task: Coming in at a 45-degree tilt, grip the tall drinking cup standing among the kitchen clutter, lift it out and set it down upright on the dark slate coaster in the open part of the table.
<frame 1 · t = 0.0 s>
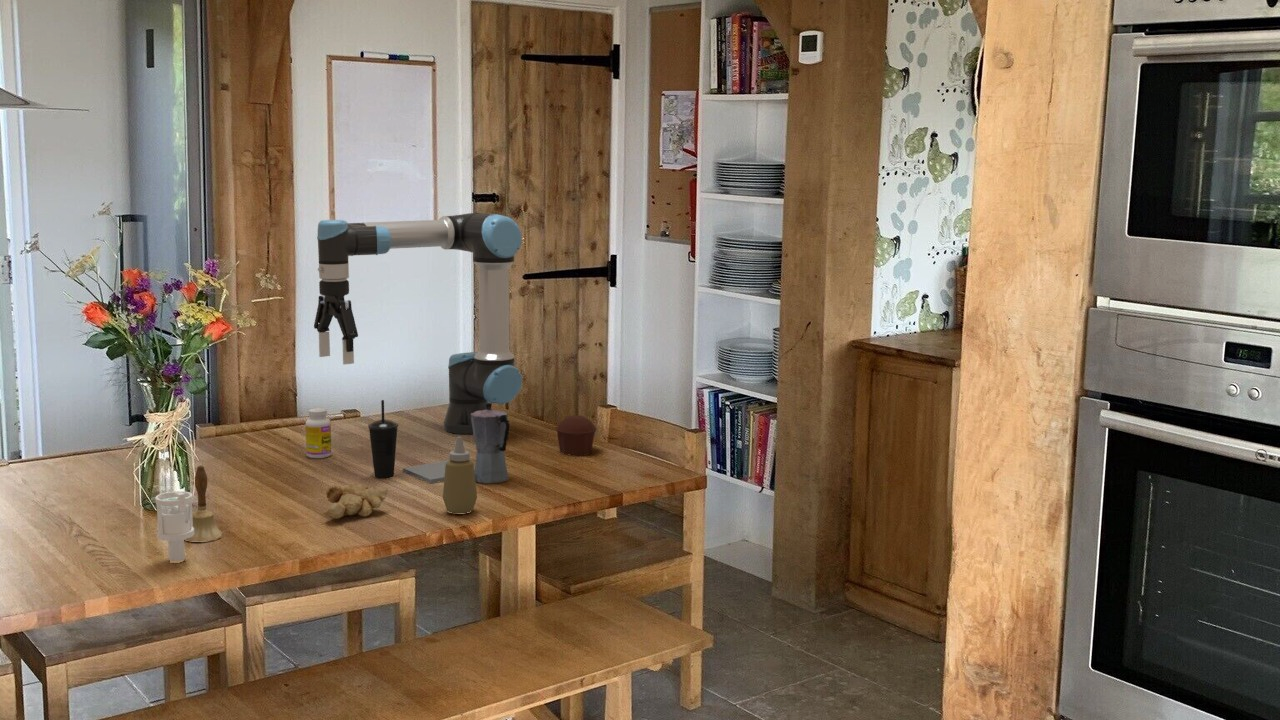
hand: (336, 360, 329), 28 cm above the table, tool pointing down, fingers open, 13 cm apart
moka pot: (492, 481, 320), on the table
supplement bottle: (319, 456, 342), on the table
slate coaster: (440, 473, 326), on the table
squeeze bottle: (460, 512, 293), on the table
hand bell: (203, 538, 272), on the table
ginger root: (352, 513, 292), on the table
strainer: (177, 562, 257), on the table
drinking cup: (384, 477, 322), on the table
muffin: (575, 452, 351), on the table
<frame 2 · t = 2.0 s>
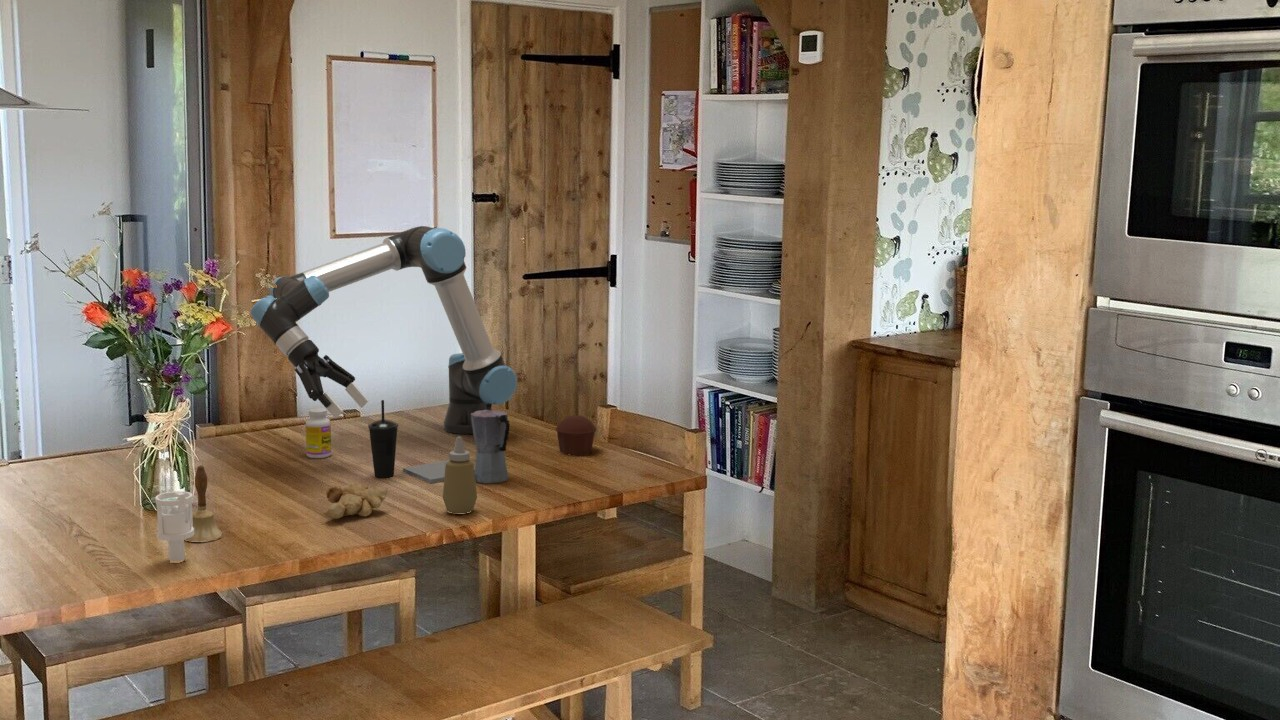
hand: (352, 409, 321), 17 cm above the table, tool tilted 45°, fingers open, 13 cm apart
nothing on the table moved.
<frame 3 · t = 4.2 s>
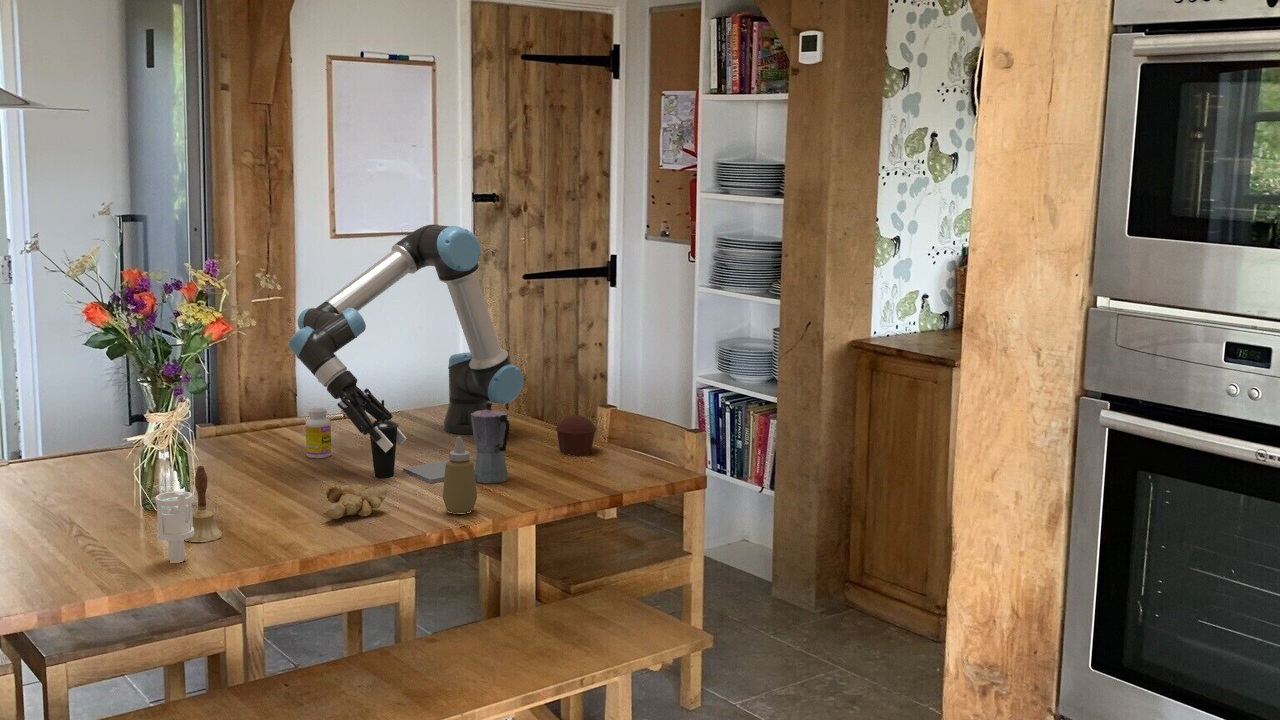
hand: (396, 445, 320), 9 cm above the table, tool tilted 45°, fingers closed on drinking cup, 7 cm apart
drinking cup: (384, 477, 322), on the table, touching gripper
everything else where it was.
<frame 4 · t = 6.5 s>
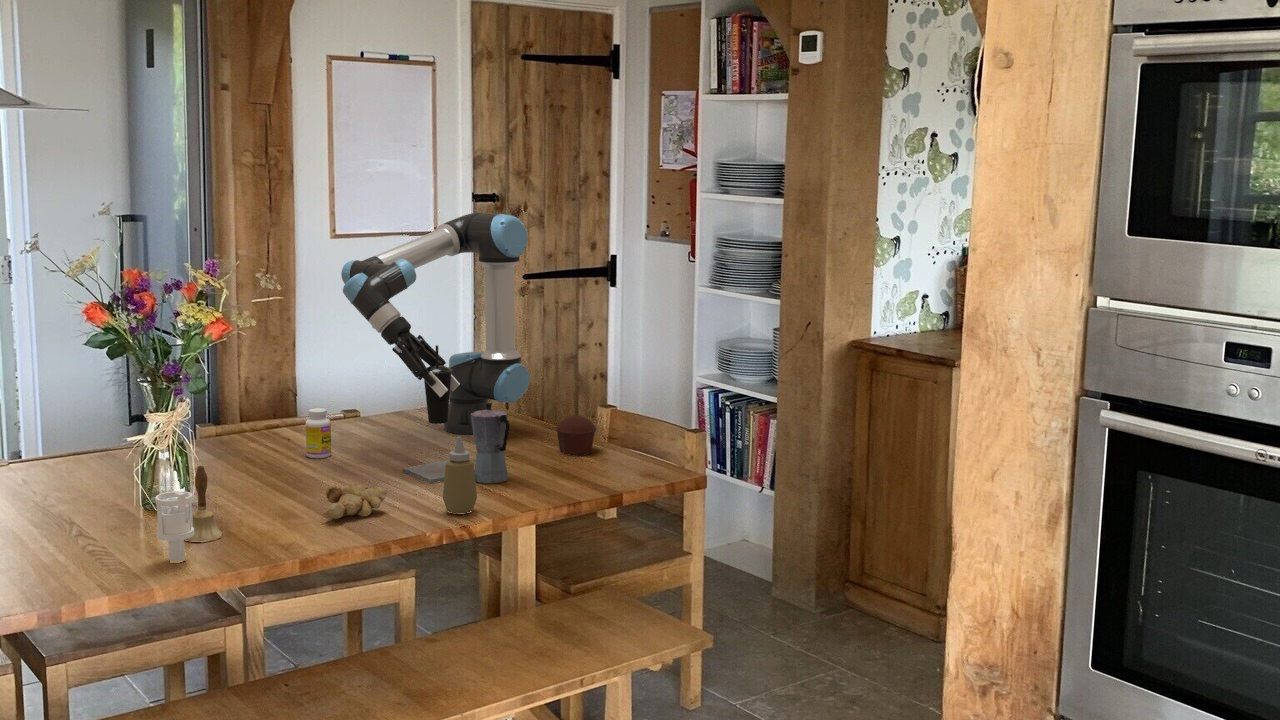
hand: (450, 390, 321), 22 cm above the table, tool tilted 45°, fingers closed on drinking cup, 7 cm apart
drinking cup: (438, 422, 324), point 14 cm above the table, touching gripper
everything else where it was.
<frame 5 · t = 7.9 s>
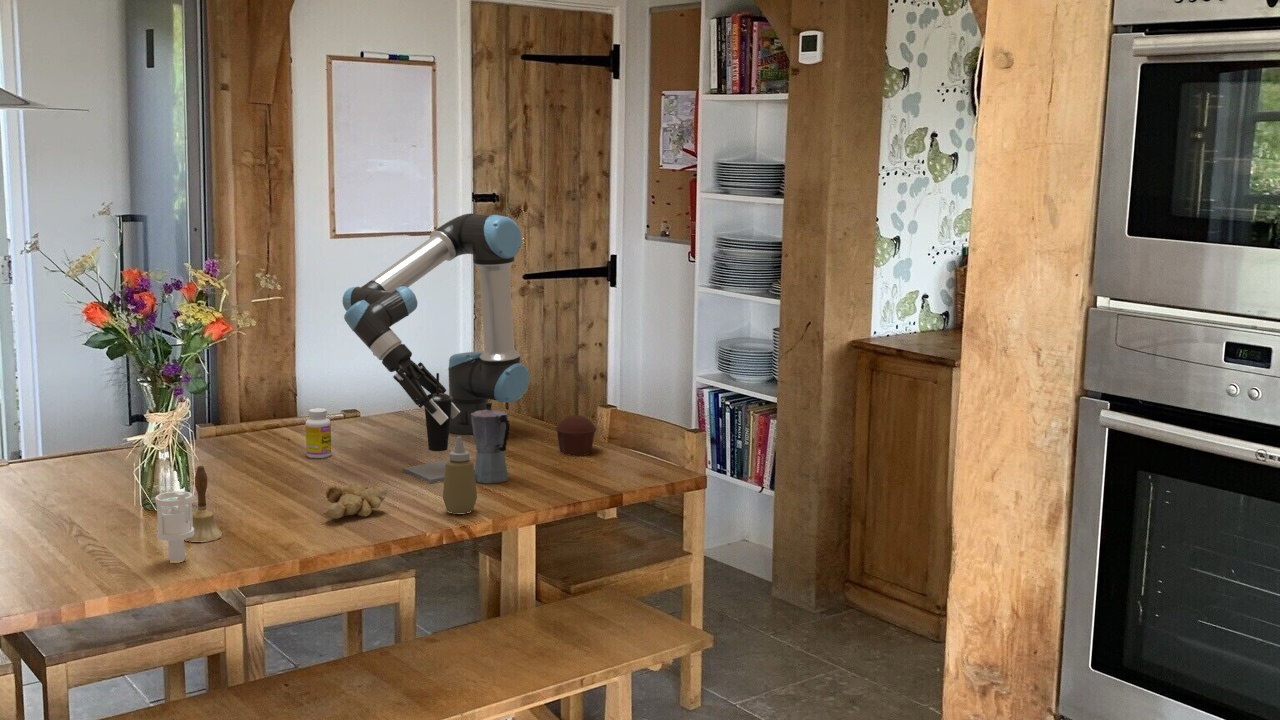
hand: (450, 418, 322), 15 cm above the table, tool tilted 45°, fingers closed on drinking cup, 7 cm apart
drinking cup: (438, 449, 325), point 6 cm above the table, touching gripper
everything else where it was.
when the fingers open (11 cm above the table, at t = 9.1 s): drinking cup drops 1 cm, resting on slate coaster.
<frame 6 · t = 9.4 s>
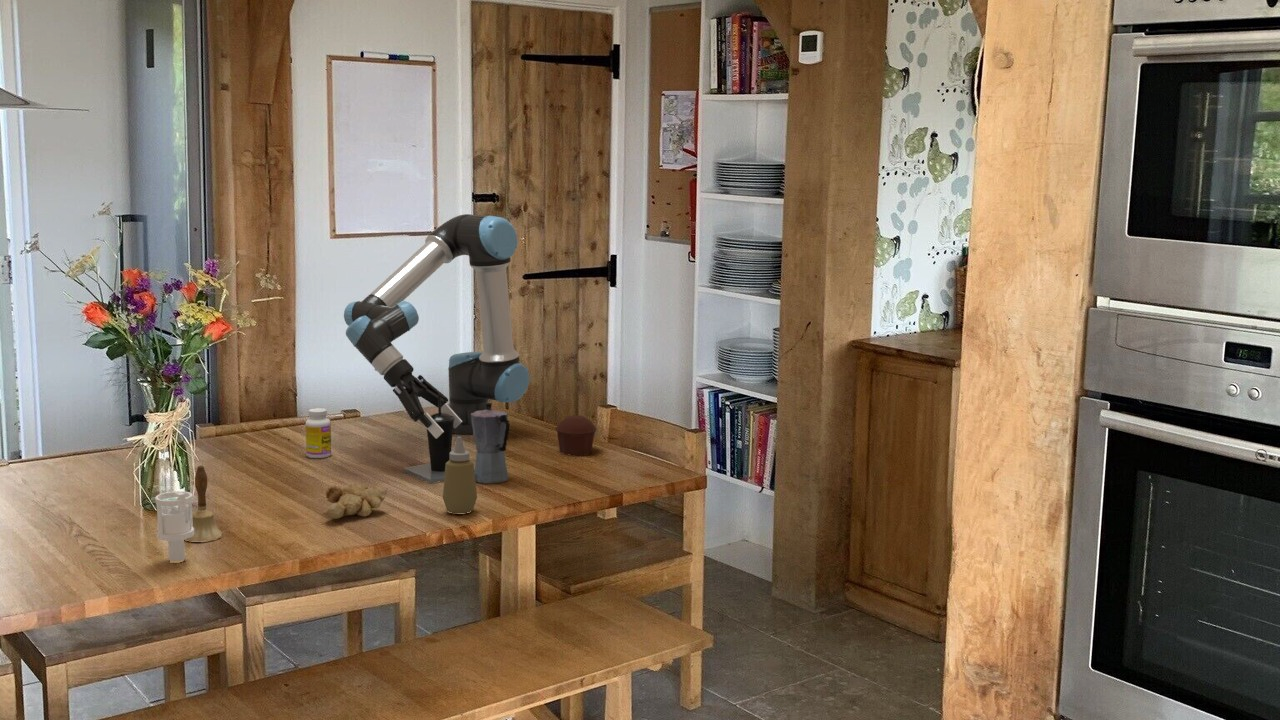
hand: (449, 430, 323), 12 cm above the table, tool tilted 45°, fingers open, 11 cm apart
drinking cup: (440, 469, 326), point 1 cm above the table, touching slate coaster
everything else where it was.
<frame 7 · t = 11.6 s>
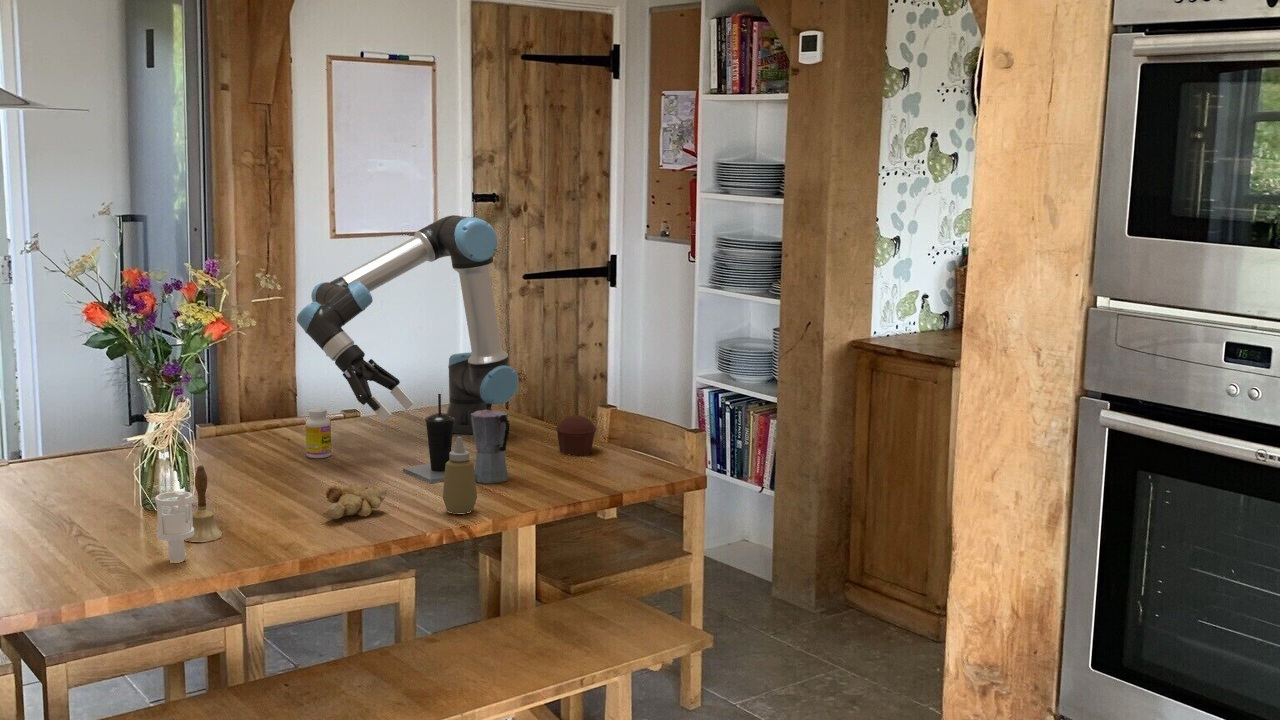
hand: (399, 412, 327), 15 cm above the table, tool tilted 45°, fingers open, 13 cm apart
nothing on the table moved.
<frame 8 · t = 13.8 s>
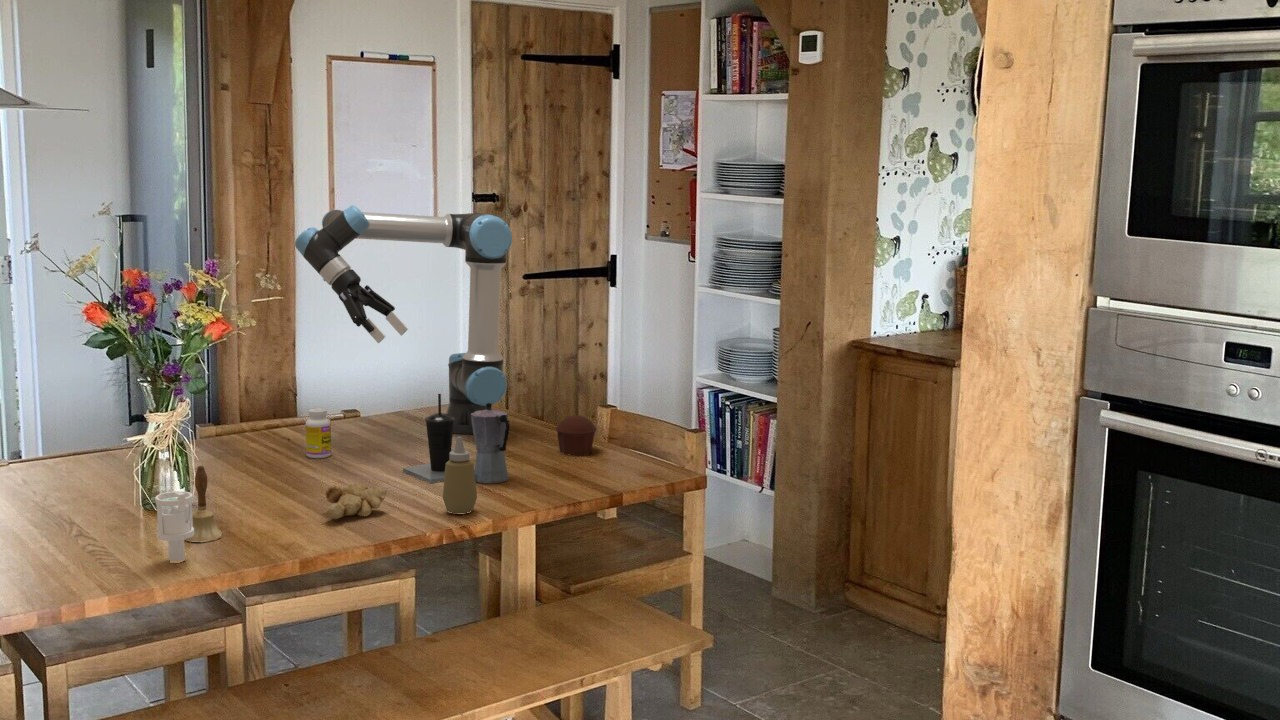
hand: (393, 336, 334), 34 cm above the table, tool tilted 45°, fingers open, 13 cm apart
nothing on the table moved.
at the end: drinking cup 0.3 cm from the slate coaster (horizontally); drinking cup tilted 0°; the gripper is holding nothing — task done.
